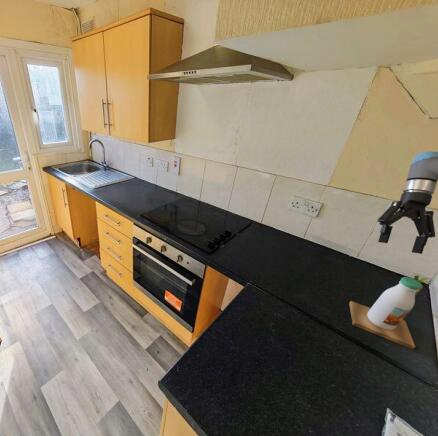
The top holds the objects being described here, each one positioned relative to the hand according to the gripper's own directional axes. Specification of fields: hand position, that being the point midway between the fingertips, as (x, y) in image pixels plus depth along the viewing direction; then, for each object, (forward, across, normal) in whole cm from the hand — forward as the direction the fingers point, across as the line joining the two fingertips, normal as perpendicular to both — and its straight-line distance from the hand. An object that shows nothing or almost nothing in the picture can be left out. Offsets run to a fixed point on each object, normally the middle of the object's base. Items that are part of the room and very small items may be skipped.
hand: (399, 247), depth 85 cm
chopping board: (+30, +1, +2) cm, 30 cm away
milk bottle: (+28, +1, +2) cm, 29 cm away
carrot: (+20, -15, -8) cm, 27 cm away
